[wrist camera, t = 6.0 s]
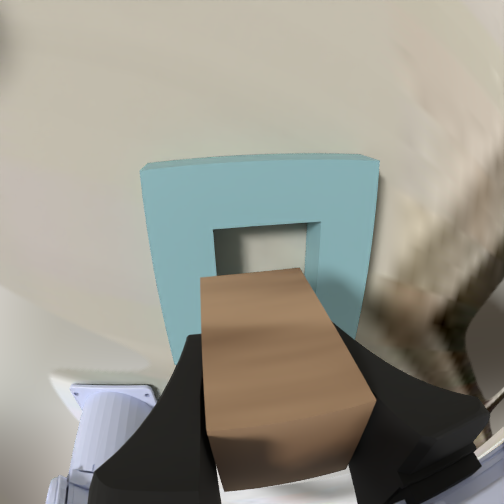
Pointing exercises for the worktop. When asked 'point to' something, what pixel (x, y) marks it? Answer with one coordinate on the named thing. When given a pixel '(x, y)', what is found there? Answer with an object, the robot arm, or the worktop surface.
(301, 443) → the walnut peg
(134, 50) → the worktop surface
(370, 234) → the socket plate
